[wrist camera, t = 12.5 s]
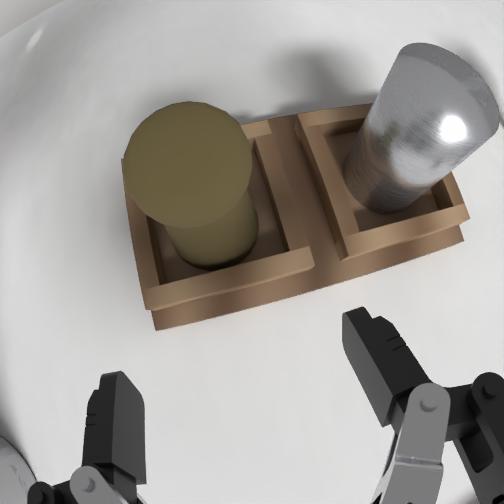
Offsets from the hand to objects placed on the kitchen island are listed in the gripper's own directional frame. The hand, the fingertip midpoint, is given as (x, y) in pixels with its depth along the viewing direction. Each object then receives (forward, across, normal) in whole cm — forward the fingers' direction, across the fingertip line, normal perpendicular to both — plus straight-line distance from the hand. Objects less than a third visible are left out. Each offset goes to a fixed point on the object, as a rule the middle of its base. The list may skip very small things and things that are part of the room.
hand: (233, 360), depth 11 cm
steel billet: (+12, -13, +1) cm, 18 cm away
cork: (+12, 0, +1) cm, 12 cm away
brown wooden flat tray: (+14, -7, +2) cm, 15 cm away
